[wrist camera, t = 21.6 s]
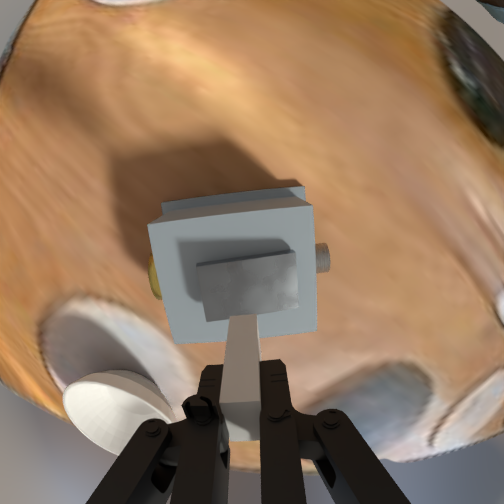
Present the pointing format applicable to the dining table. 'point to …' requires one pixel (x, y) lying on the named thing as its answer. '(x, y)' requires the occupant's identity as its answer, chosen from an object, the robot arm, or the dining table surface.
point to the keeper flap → (248, 285)
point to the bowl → (114, 406)
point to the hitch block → (232, 255)
